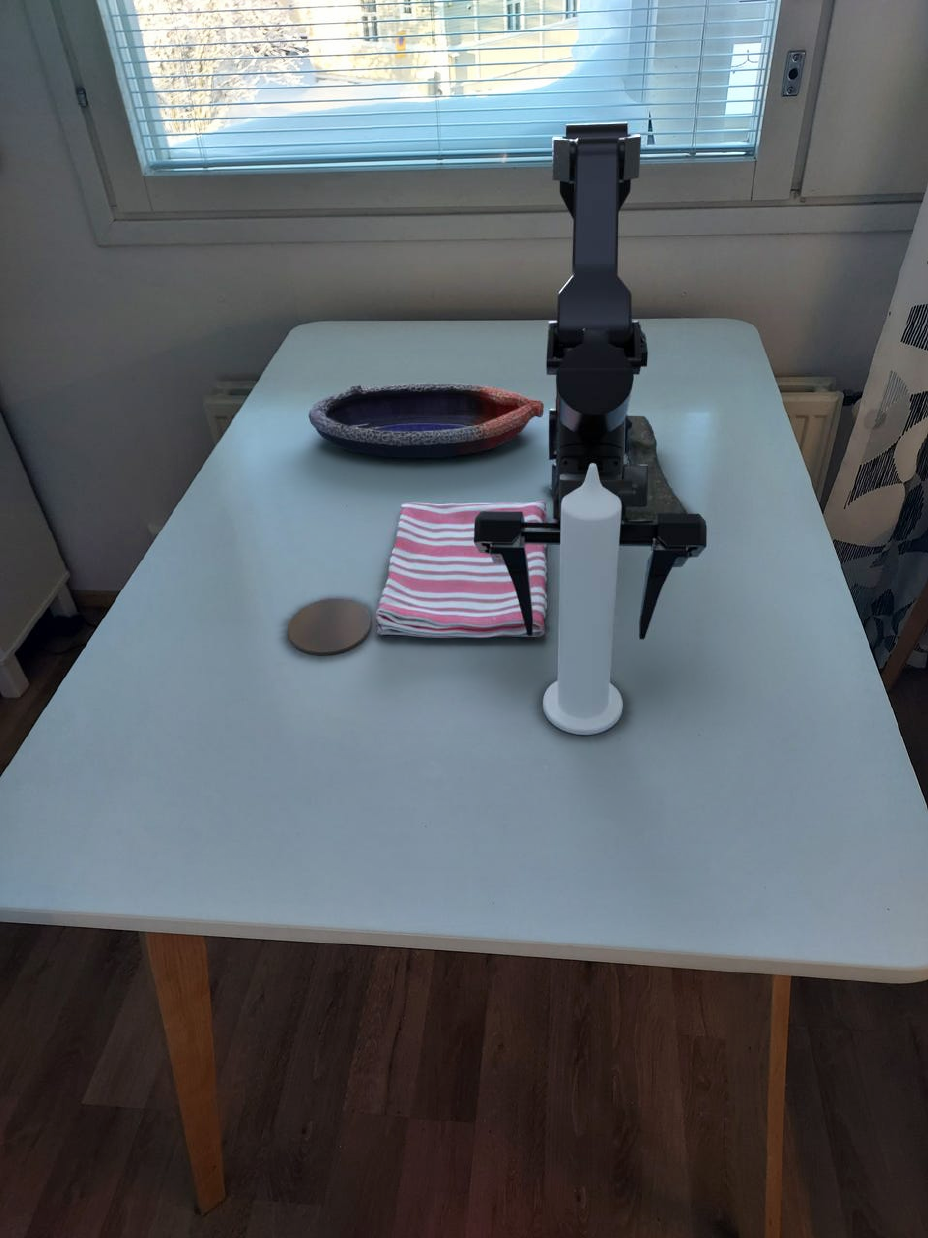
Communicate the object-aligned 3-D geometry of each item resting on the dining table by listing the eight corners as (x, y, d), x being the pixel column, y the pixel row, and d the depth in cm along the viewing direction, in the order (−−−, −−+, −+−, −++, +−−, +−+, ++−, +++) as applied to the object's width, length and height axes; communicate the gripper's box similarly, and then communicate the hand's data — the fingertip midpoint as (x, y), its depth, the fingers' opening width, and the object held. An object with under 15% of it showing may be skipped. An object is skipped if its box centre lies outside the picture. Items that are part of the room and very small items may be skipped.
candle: (529, 694, 85) (527, 453, 69) (597, 670, 87) (610, 431, 71) (566, 746, 80) (573, 499, 64) (637, 720, 82) (661, 474, 66)
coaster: (358, 593, 98) (357, 590, 98) (382, 640, 92) (381, 637, 92) (280, 614, 96) (279, 611, 96) (299, 664, 90) (298, 661, 89)
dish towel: (373, 643, 91) (369, 616, 89) (403, 512, 109) (400, 487, 107) (546, 645, 90) (547, 618, 88) (548, 512, 108) (548, 486, 105)
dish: (326, 409, 131) (321, 376, 127) (545, 410, 127) (545, 376, 124) (299, 466, 119) (293, 431, 116) (540, 469, 115) (540, 433, 112)
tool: (687, 530, 106) (692, 509, 104) (620, 529, 106) (624, 508, 103) (657, 426, 120) (661, 405, 118) (598, 425, 120) (601, 404, 118)
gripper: (470, 423, 71) (462, 626, 70) (718, 424, 69) (716, 633, 68) (483, 461, 82) (477, 637, 81) (698, 463, 80) (695, 643, 79)
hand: (585, 637), depth 77 cm, fingers open, 9 cm apart
